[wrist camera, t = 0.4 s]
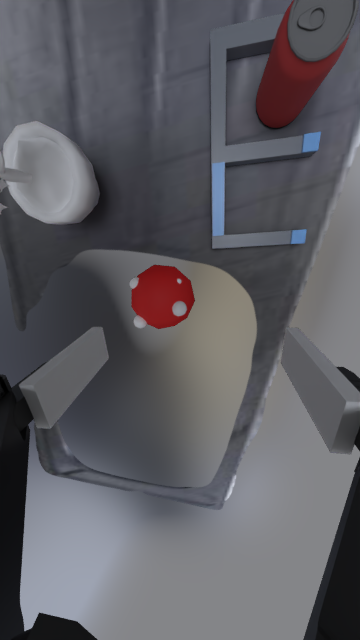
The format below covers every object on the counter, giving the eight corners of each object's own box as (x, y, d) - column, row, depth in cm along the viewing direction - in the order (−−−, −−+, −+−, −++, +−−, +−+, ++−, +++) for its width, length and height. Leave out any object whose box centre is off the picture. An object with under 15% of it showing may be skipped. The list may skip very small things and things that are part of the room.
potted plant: (95, 240, 39) (-67, 245, 16) (42, 197, 38) (-218, 136, 15) (130, 178, 35) (-27, 63, 12) (72, 126, 33) (-240, -124, 10)
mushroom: (136, 301, 43) (110, 323, 32) (153, 250, 39) (130, 255, 28) (183, 321, 43) (173, 350, 32) (205, 273, 39) (203, 287, 28)
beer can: (257, 71, 28) (287, -36, 17) (309, 63, 27) (377, -58, 16) (253, 133, 30) (277, 73, 19) (301, 126, 29) (355, 60, 18)
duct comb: (210, 43, 28) (210, 26, 25) (329, 18, 25) (340, -3, 23) (212, 248, 37) (212, 248, 35) (298, 242, 35) (304, 243, 33)
